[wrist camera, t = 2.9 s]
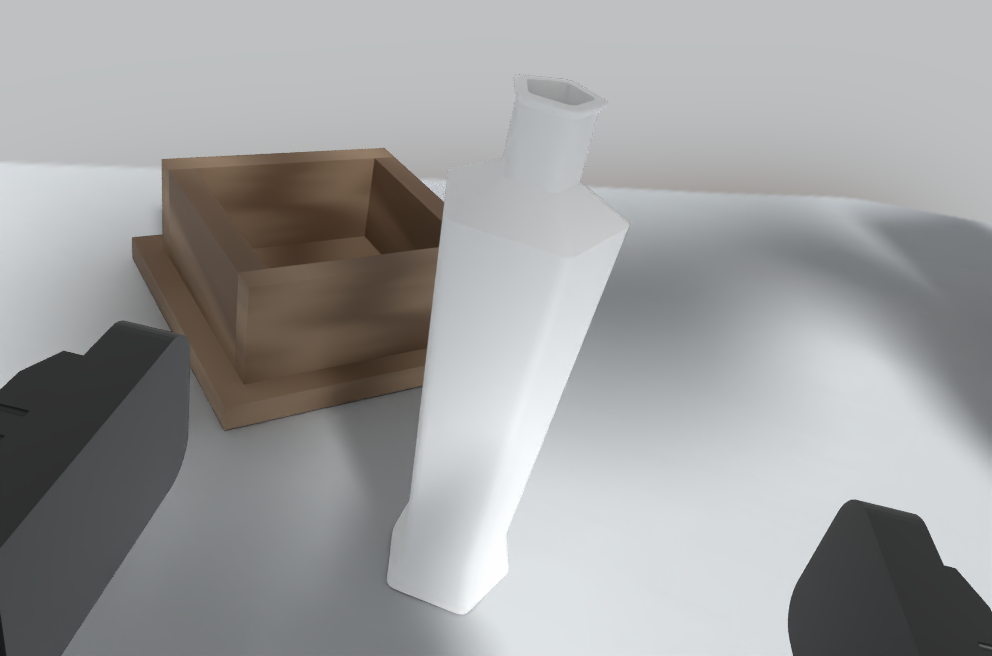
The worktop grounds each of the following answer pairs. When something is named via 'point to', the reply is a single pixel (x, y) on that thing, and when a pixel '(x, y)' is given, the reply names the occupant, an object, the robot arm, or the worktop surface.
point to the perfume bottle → (502, 339)
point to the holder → (295, 277)
